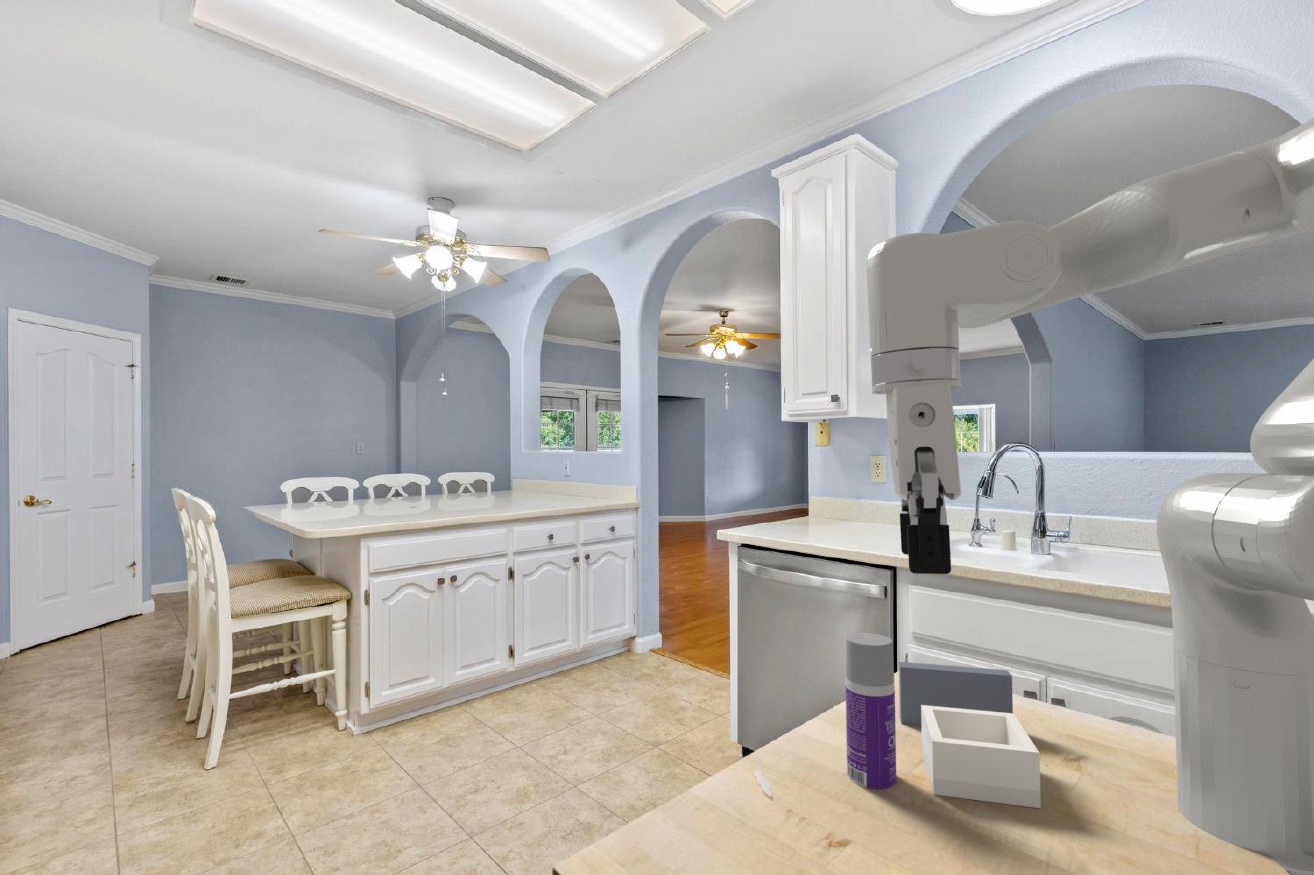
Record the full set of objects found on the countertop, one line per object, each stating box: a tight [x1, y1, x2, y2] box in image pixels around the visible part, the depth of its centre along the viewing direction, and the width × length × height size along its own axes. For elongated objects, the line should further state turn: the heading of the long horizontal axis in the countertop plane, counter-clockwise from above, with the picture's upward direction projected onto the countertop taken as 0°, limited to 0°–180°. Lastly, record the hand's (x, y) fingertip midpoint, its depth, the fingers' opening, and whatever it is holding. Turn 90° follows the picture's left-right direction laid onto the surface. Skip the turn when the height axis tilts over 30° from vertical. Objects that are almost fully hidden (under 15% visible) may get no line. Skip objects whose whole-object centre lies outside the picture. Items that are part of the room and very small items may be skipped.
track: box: [898, 661, 1014, 727], centre depth 67 cm, size 12×19×8 cm, turn 164°
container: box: [845, 632, 897, 790], centre depth 64 cm, size 5×5×15 cm
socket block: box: [921, 705, 1042, 809], centre depth 63 cm, size 9×9×5 cm
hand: (924, 562), depth 57 cm, fingers open, 9 cm apart
